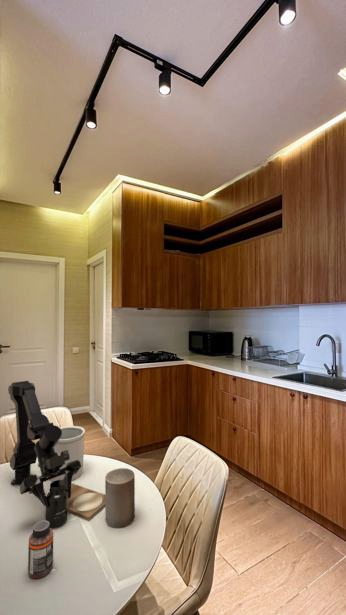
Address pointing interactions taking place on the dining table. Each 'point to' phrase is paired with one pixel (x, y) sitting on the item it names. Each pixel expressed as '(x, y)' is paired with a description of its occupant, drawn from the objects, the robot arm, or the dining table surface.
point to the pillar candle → (119, 497)
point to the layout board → (85, 502)
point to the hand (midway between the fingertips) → (58, 502)
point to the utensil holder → (71, 447)
